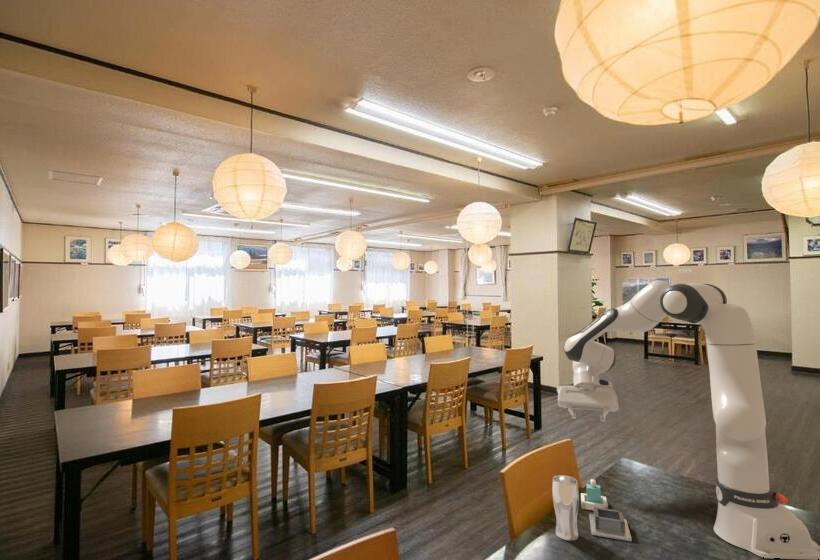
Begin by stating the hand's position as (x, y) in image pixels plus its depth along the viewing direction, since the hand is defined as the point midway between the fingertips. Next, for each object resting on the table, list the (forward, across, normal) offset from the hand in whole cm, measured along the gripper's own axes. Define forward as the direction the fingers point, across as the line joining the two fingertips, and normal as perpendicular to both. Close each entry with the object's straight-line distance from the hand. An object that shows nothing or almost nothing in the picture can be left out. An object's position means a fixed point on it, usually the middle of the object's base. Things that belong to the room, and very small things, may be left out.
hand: (588, 419), depth 143 cm
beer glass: (+40, -8, -6) cm, 41 cm away
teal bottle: (+26, 0, +8) cm, 27 cm away
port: (+35, +3, -1) cm, 35 cm away
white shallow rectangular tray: (+26, 0, +8) cm, 27 cm away
